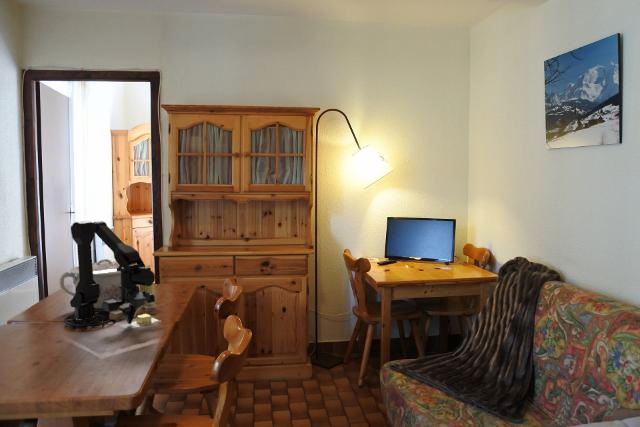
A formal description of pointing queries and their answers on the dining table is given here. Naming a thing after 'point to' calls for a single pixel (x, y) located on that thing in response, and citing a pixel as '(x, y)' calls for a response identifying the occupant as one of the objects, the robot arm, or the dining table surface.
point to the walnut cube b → (150, 309)
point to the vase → (147, 288)
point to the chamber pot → (99, 281)
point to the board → (137, 324)
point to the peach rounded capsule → (139, 310)
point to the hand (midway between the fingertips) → (129, 323)
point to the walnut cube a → (116, 315)
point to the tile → (143, 319)
